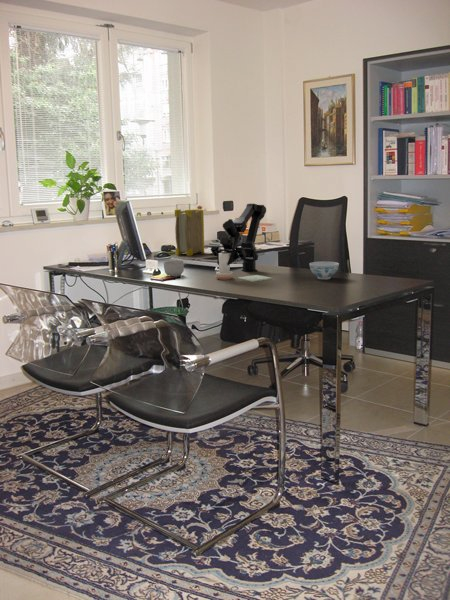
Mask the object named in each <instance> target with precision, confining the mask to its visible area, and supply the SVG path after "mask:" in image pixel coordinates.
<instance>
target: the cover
mask: <svg viewBox="0 0 450 600" xmlns="http://www.w3.org/2000/svg"><path fill="white" fill-rule="evenodd" d="M230 256H231V254H229V253H227V251H222V253H219V265H218V271H216V274H217V275H231V274H233V275H234V273H233V271H231V269H230V267H231V266H230V265H231V264H230V265H228V261H229V258H230ZM216 274H215V275H216Z"/></svg>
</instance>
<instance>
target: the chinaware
mask: <svg viewBox="0 0 450 600" xmlns="http://www.w3.org/2000/svg"><path fill="white" fill-rule="evenodd" d="M339 265H340V263H339V262H336V261H313V262H309V268H310V271H311V273H312V274H313V275H314V276H316V277H317V279H318V280H330V279H331V278H332V277H333V276H334V275H335V274H336V273H337V272H338V269H339Z"/></svg>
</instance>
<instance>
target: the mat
mask: <svg viewBox="0 0 450 600" xmlns="http://www.w3.org/2000/svg"><path fill="white" fill-rule="evenodd" d="M237 279H238V280H242V281H246V282H251V283H252V282H261V281H267V280H268V281H269V280H273V277H269V276H265V275H259V274H254V275H247V276H239V277H237Z"/></svg>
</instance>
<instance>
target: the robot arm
mask: <svg viewBox="0 0 450 600" xmlns="http://www.w3.org/2000/svg"><path fill="white" fill-rule="evenodd" d="M245 206H246V207H245V208H244V210H243V212H242V213H241V215H240V216H239V217H238V218H236V219H235V220H233V219H228V220H226V221H225V222H224V223H223V224H222V228H223V230H224V231H225V234H226V235H227V236H228V237H220V240H219V244H220V245H221V247H222V248H221V247H220V246H218V245H212V246H211V248H210V251H211V253H212V255H213V256H214V257H216V258H217V260H216V261H217V263H216V264H217V265H218V266H219V253H222V251H227V253H229V254H230V258H229V261H228V265H231V264H232V263H234V262H235V261H237V260H238V259H240V260H241V261H243V262H242V269H241V272H248V273H249V272H255V271H256V272H257V271H258V269H256V267H257V266H256V261H258V259H259V255H258V253H257V251H256V250H257V248H256V244H255V243H256V239H257V234H258V231H259V227H260V224H261V221H262V220H263V219H264V218H265V215H266V212H267V208H266V206H265V205H264V204H256V203H247V204H246V205H245ZM250 219H251V220H250ZM249 220H250V223H249V228H248V225H247V224H248V222H249ZM247 228H248V232H247V236H246V239H245V241H244V242H241V245H240V247H239V246H238V243H239V241H240V240H242V239H243V238H242V236H241V233H245V232H246V231H247Z"/></svg>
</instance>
